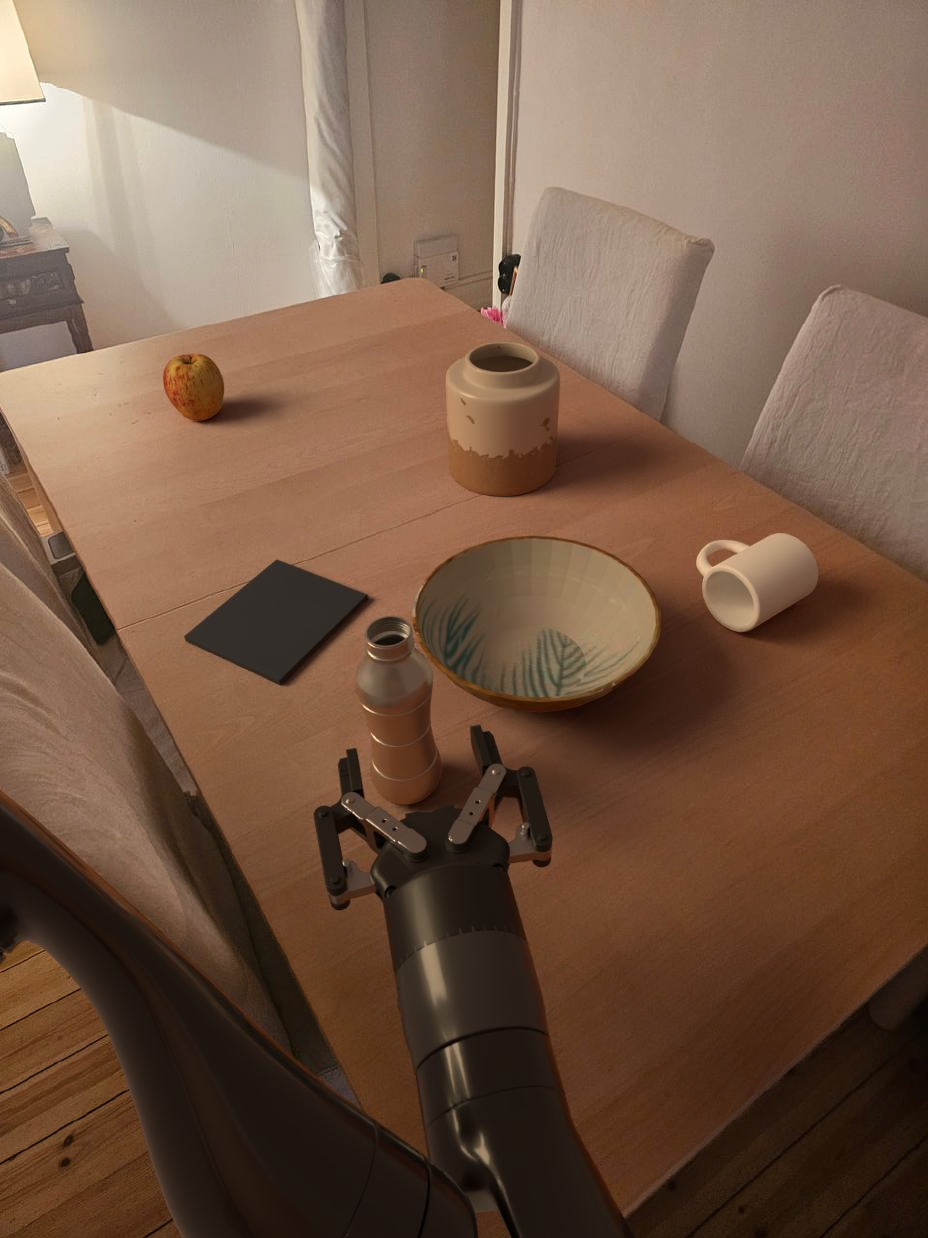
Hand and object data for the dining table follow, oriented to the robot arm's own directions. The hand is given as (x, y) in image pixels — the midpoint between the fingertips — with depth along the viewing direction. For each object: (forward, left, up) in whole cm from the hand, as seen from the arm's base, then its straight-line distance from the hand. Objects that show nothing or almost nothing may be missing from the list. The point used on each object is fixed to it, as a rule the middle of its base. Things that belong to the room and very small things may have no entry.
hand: (414, 744), depth 56 cm
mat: (+20, +34, -19) cm, 44 cm away
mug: (+49, -11, -20) cm, 54 cm away
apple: (+52, +77, -20) cm, 95 cm away
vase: (+61, +27, -20) cm, 69 cm away
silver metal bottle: (+8, +8, -20) cm, 23 cm away
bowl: (+28, +5, -20) cm, 35 cm away
